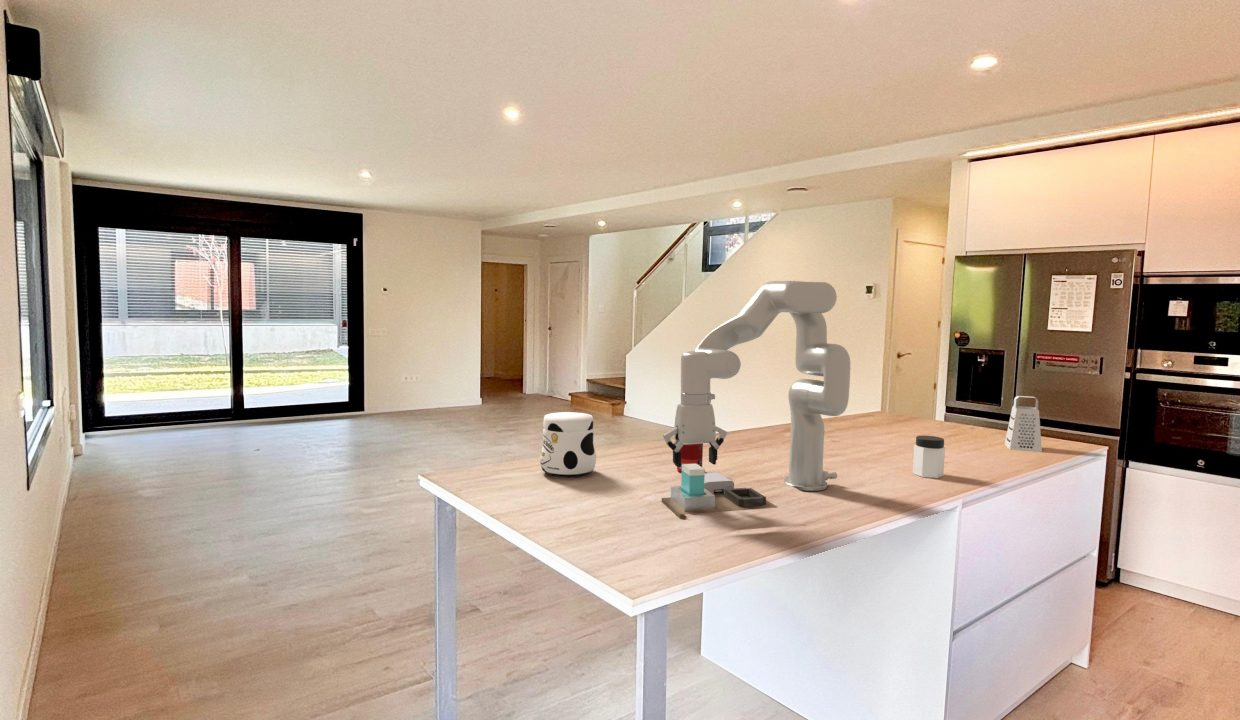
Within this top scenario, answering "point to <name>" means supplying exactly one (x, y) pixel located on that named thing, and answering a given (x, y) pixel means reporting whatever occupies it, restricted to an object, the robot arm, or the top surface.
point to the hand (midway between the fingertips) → (695, 464)
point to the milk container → (568, 444)
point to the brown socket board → (727, 502)
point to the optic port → (692, 500)
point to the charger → (717, 483)
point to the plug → (692, 479)
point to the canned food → (691, 455)
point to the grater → (1024, 428)
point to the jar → (929, 457)
